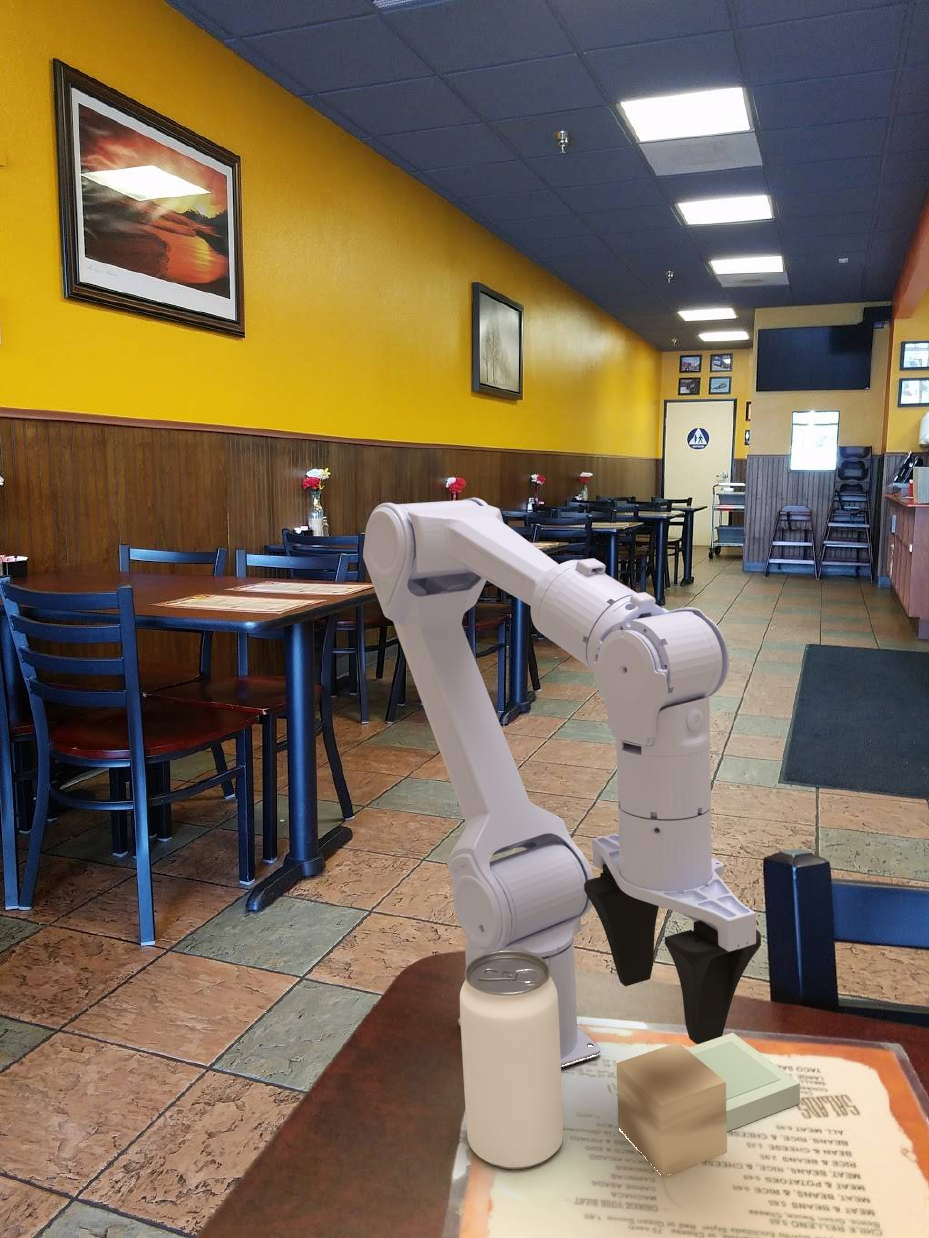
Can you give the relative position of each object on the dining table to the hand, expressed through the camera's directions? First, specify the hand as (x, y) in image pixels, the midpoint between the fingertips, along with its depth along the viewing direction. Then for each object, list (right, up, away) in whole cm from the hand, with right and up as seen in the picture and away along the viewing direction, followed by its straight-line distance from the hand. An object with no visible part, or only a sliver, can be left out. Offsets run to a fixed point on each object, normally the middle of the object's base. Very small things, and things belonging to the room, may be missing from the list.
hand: (668, 1007), depth 61 cm
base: (+5, -8, +6) cm, 12 cm away
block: (+1, -9, +1) cm, 10 cm away
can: (-10, -10, +2) cm, 14 cm away
